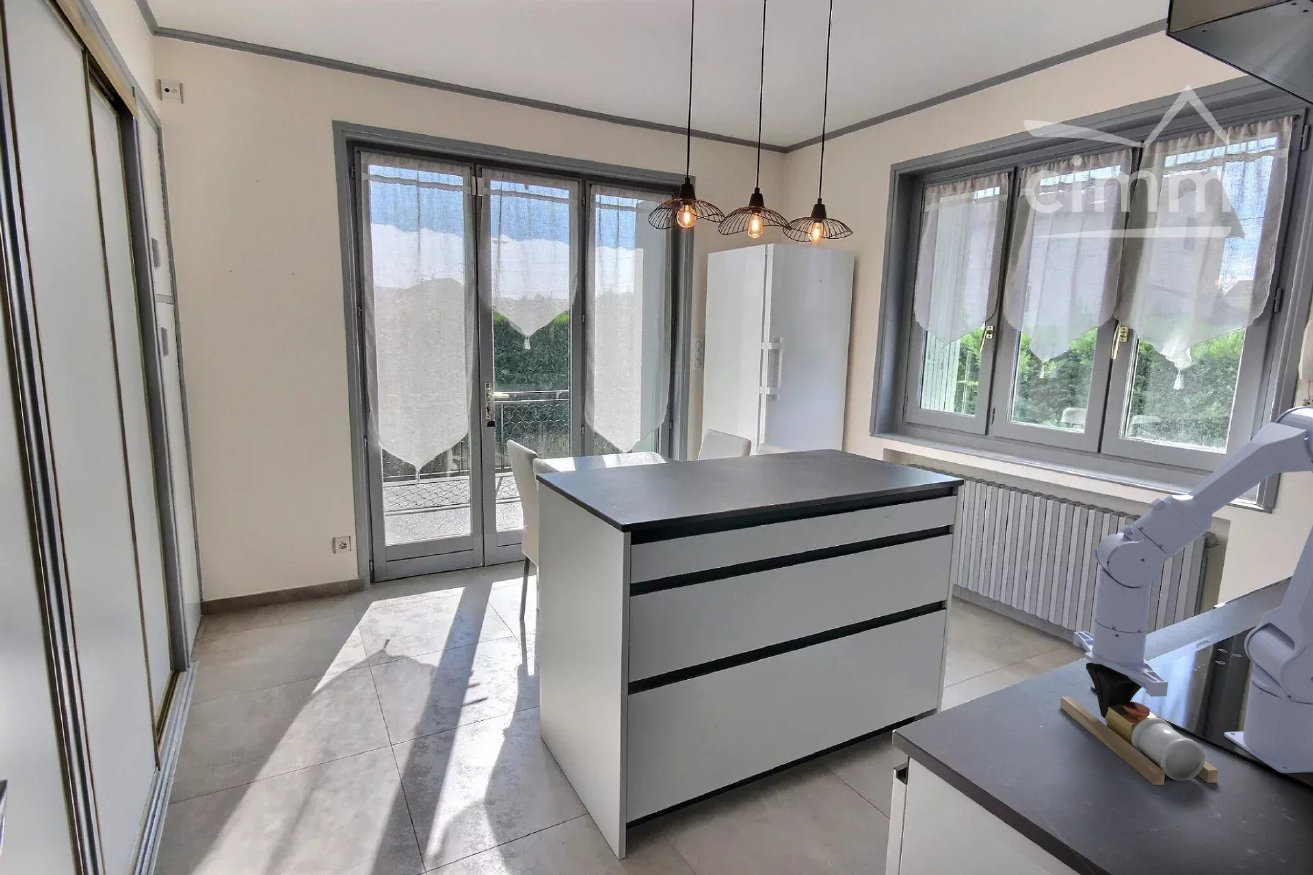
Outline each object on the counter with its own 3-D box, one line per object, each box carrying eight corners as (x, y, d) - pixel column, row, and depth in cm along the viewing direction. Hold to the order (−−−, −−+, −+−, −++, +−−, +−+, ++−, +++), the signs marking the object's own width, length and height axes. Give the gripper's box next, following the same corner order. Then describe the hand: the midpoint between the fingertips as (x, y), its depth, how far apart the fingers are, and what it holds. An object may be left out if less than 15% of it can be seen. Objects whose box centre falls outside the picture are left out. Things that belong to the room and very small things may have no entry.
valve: (1102, 731, 89) (1105, 697, 89) (1133, 730, 90) (1137, 695, 89) (1132, 755, 84) (1136, 719, 83) (1165, 754, 84) (1169, 717, 84)
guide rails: (1112, 704, 96) (1113, 694, 96) (1216, 782, 79) (1218, 769, 79) (1060, 706, 95) (1061, 696, 95) (1154, 785, 79) (1155, 772, 78)
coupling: (1129, 755, 84) (1133, 717, 83) (1168, 754, 84) (1172, 716, 84) (1161, 781, 79) (1165, 741, 78) (1202, 779, 80) (1207, 739, 79)
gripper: (1056, 603, 96) (1049, 691, 98) (1133, 649, 81) (1123, 751, 83) (1103, 602, 96) (1095, 689, 98) (1188, 647, 82) (1176, 749, 84)
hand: (1111, 718), depth 91 cm, fingers closed
